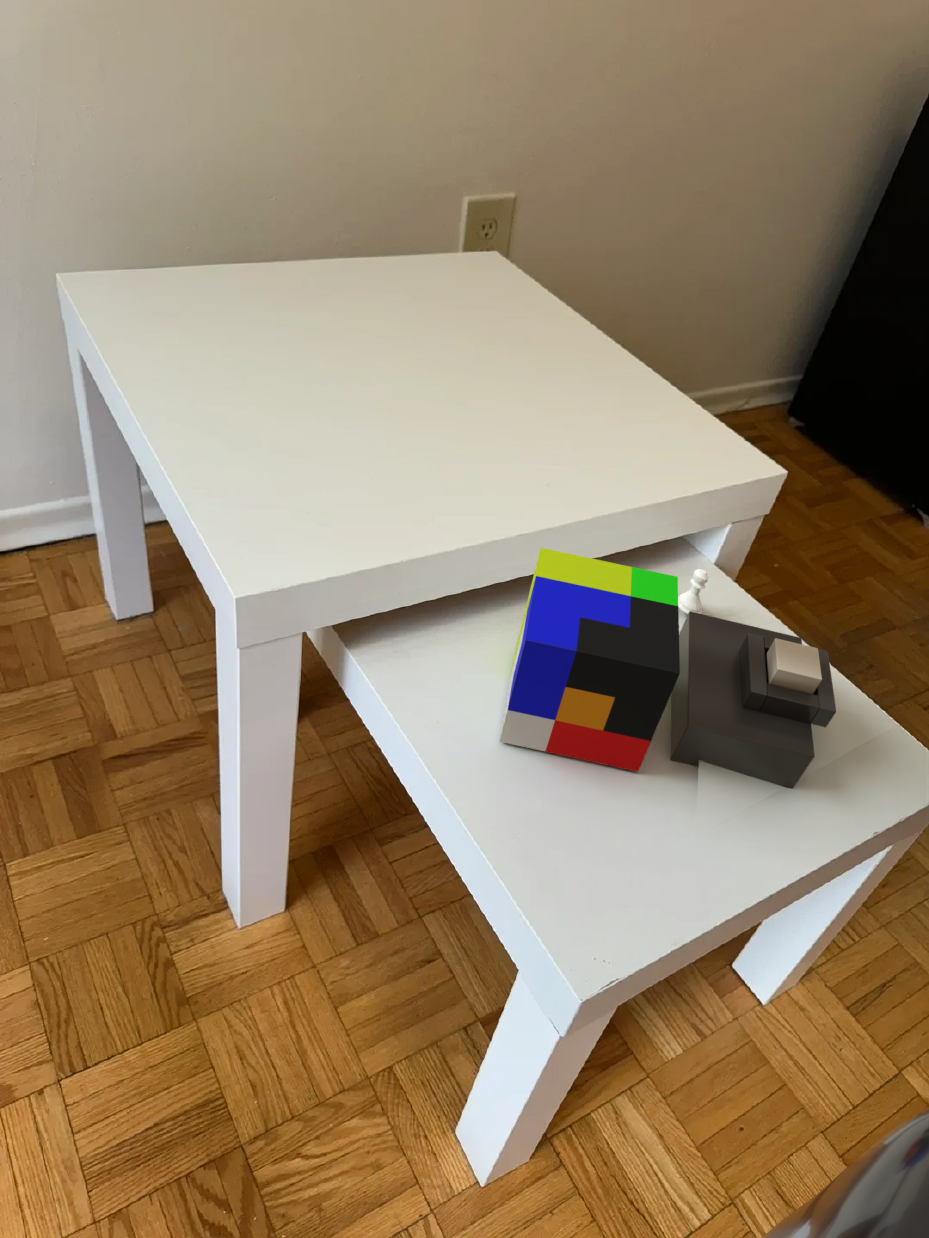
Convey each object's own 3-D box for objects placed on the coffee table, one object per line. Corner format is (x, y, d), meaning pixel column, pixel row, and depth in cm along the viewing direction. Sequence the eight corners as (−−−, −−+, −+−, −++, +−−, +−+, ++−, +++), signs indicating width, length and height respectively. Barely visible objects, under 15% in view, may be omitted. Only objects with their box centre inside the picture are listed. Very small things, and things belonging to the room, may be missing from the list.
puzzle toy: (499, 741, 66) (525, 640, 59) (515, 647, 73) (540, 547, 67) (638, 771, 66) (679, 673, 59) (640, 673, 73) (677, 576, 67)
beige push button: (812, 695, 66) (822, 679, 65) (768, 685, 67) (777, 668, 65) (808, 664, 69) (818, 648, 68) (766, 653, 69) (775, 637, 68)
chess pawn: (706, 613, 80) (722, 578, 77) (689, 619, 79) (704, 583, 76) (687, 595, 81) (701, 559, 78) (670, 600, 80) (683, 564, 78)
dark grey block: (805, 795, 67) (841, 744, 63) (669, 761, 67) (696, 709, 63) (793, 676, 76) (824, 624, 72) (673, 647, 76) (696, 594, 72)
